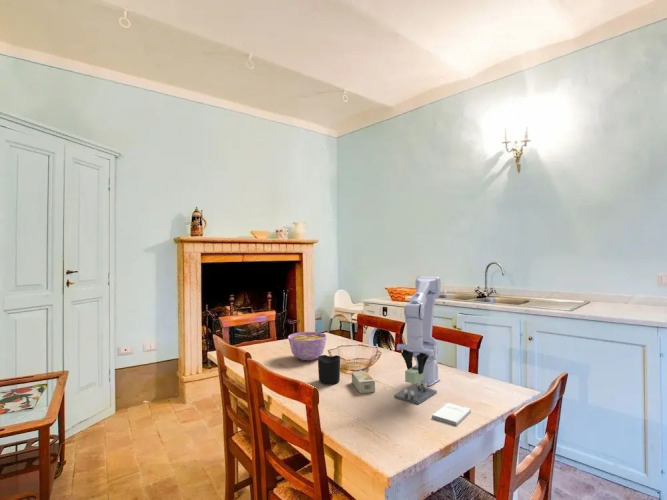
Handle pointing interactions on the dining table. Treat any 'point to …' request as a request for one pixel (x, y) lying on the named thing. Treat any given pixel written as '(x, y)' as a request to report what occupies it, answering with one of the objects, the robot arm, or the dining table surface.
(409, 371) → the green block
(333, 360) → the pen holder
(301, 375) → the dining table surface
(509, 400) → the dining table surface
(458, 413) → the external hard drive
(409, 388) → the plate
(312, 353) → the bowl of food
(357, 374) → the skincare box
